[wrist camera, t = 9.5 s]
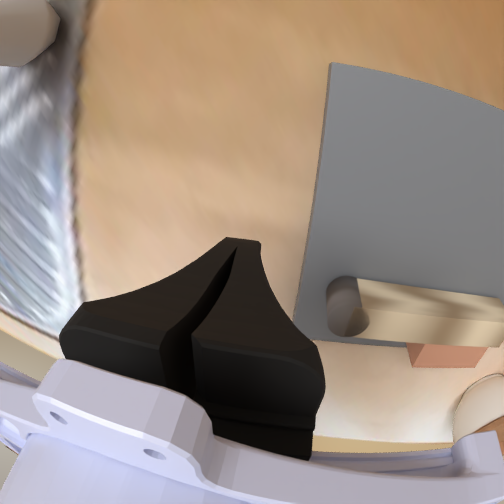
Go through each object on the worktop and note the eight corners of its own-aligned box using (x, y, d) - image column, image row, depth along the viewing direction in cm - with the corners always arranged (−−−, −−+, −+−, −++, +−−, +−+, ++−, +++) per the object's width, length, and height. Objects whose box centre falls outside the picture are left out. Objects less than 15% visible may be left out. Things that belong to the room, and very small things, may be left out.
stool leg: (322, 304, 22) (323, 334, 19) (330, 273, 20) (333, 302, 18) (485, 322, 21) (498, 348, 18) (499, 297, 19) (514, 322, 17)
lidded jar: (477, 417, 31) (490, 474, 23) (427, 409, 31) (438, 478, 23) (533, 367, 26) (557, 427, 18) (489, 352, 25) (517, 425, 17)
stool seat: (477, 334, 24) (493, 374, 20) (292, 319, 26) (288, 366, 22) (553, 136, 14) (594, 156, 10) (329, 64, 16) (338, 58, 12)
